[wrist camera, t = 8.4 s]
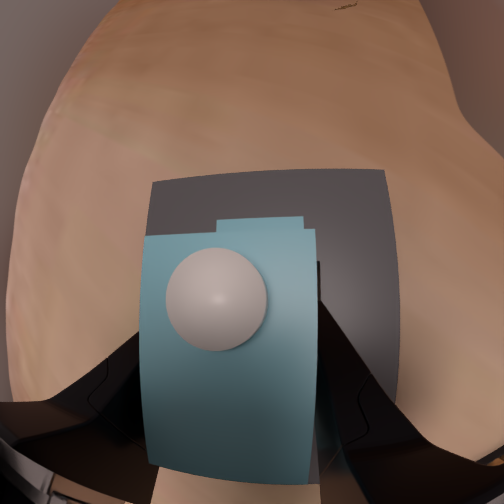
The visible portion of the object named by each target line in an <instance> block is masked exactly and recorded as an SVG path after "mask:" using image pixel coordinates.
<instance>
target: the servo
mask: <svg viewBox="0 0 504 504" xmlns="http://www.w3.org/2000/svg"><path fill="white" fill-rule="evenodd" d="M317 335H318V302H317V260H316V238H315V229H304V221H303V216H297V217H267V218H244V219H224V220H217V226H216V232H210V233H190V234H171V235H153V236H145V239H144V249H143V260H142V274H141V290H140V318H139V357H140V384H141V399H142V412H143V422H144V432H145V440H146V447H147V454H148V461H149V463H150V464H153V465H157V466H160V467H164V468H168V469H171V470H175V471H180V472H184V473H189V474H193V475H198V476H204V477H209V478H215V479H222V480H229V481H237V482H247V483H259V484H281V485H305V484H308V478H309V469H310V460H311V450H312V440H313V428H314V414H315V397H316V376H317Z"/></svg>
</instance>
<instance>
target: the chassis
mask: <svg viewBox="0 0 504 504" xmlns="http://www.w3.org/2000/svg"><path fill="white" fill-rule="evenodd" d="M297 216H303V221H304V229H315V238H316V260H317V300H321V301H322V302H323V304H324V305H325V306H326V308H327V309H328V311H329V312H330V313H331V315H332V316H333V318H334V319H335V320H336V322H337V323H338V325H339V326H340V328H341V329H342V330H343V332H344V333H345V335H346V336H347V338H348V339H349V340H350V342H351V343H352V345H353V346H354V348H355V349H356V351H357V352H358V353H359V355H360V356H361V358H362V359H363V361H364V362H365V364H366V365H367V367H368V368H369V370H370V371H371V374H373V375H374V377H375V378H376V380H377V381H378V383H379V384H380V386H381V387H382V388H383V390H384V391H385V392H386V394H387V395H388V396H389V398H390V399H391V400H392V401H393V402H394V404H395V400H396V391H397V380H398V367H399V348H400V295H399V275H398V262H397V251H396V241H395V232H394V225H393V217H392V211H391V204H390V198H389V193H388V187H387V182H386V177H385V172H384V170H375V169H294V170H270V171H253V172H239V173H227V174H216V175H206V176H196V177H187V178H179V179H171V180H164V181H157V182H153V184H152V190H151V197H150V204H149V211H148V218H147V226H146V235H145V236H153V235H171V234H190V233H210V232H216V226H217V220H224V219H244V218H267V217H297ZM319 478H320V477H319V467H318V455H317V444H316V433H315V423H314V428H313V440H312V450H311V460H310V469H309V478H308V484H320V481H319Z"/></svg>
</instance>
